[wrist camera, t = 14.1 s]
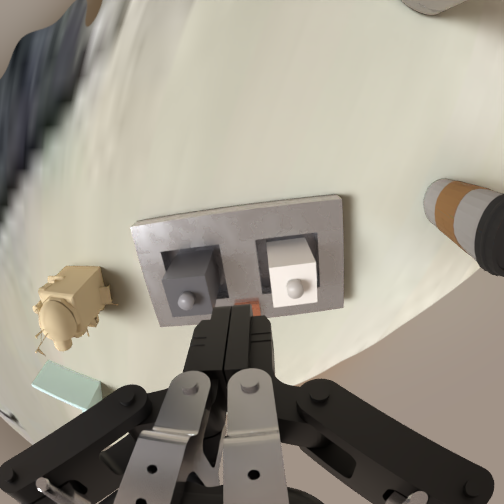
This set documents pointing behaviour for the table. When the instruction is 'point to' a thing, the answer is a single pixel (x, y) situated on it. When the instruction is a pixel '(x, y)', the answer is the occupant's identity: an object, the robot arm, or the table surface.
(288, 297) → the white plug
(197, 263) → the grey plug
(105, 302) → the robot
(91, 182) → the table surface
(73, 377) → the l-shaped corner panel
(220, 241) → the socket plate
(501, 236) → the coffee cup
